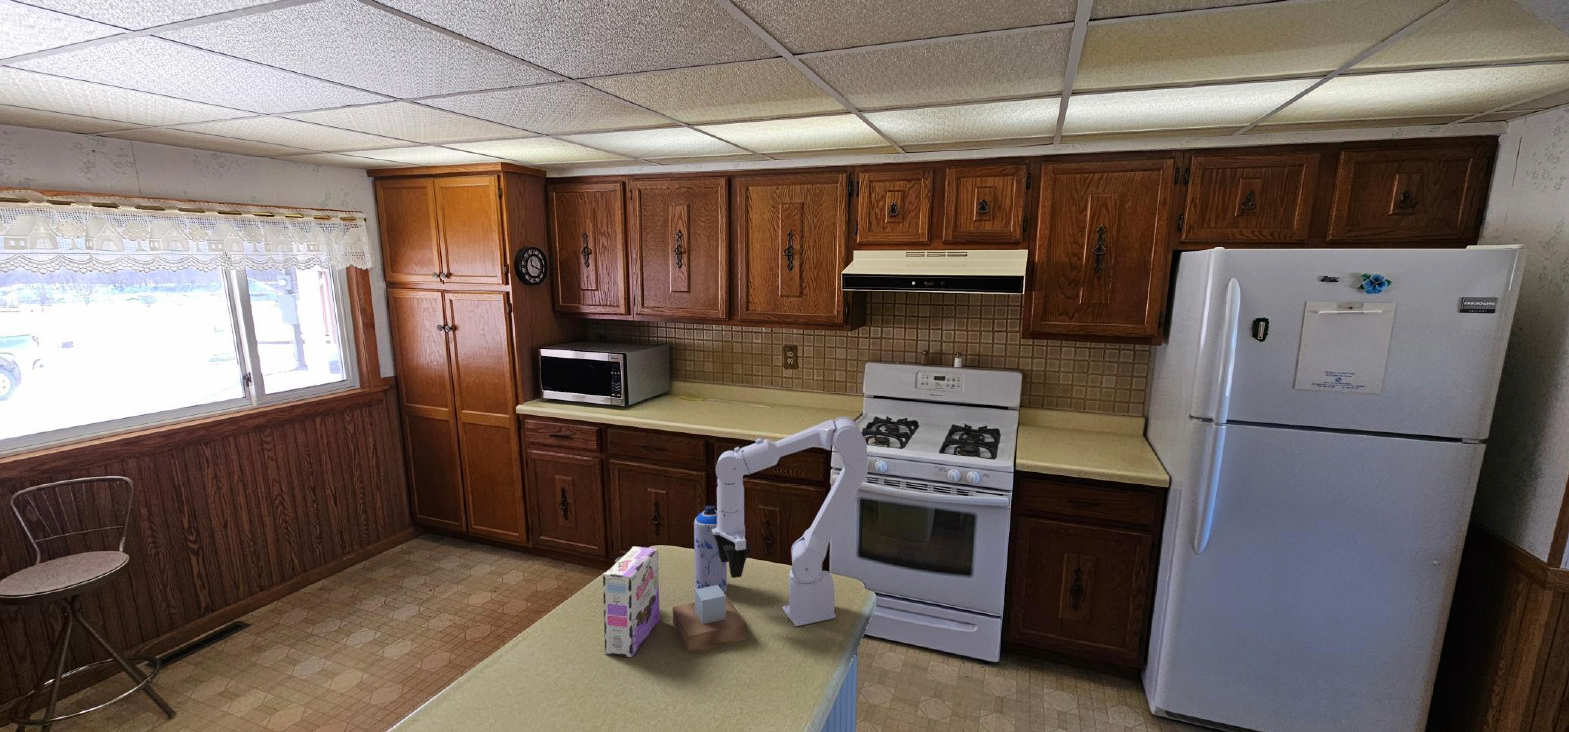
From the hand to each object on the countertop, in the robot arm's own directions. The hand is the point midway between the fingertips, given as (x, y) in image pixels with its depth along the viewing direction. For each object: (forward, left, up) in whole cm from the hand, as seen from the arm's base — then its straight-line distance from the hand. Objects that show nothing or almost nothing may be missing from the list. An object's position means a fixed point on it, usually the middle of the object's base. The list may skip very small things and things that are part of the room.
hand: (731, 568), depth 132 cm
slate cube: (+6, +5, -7) cm, 10 cm away
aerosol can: (+1, -13, -11) cm, 17 cm away
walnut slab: (+6, +5, -11) cm, 13 cm away
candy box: (+21, +1, -11) cm, 24 cm away
